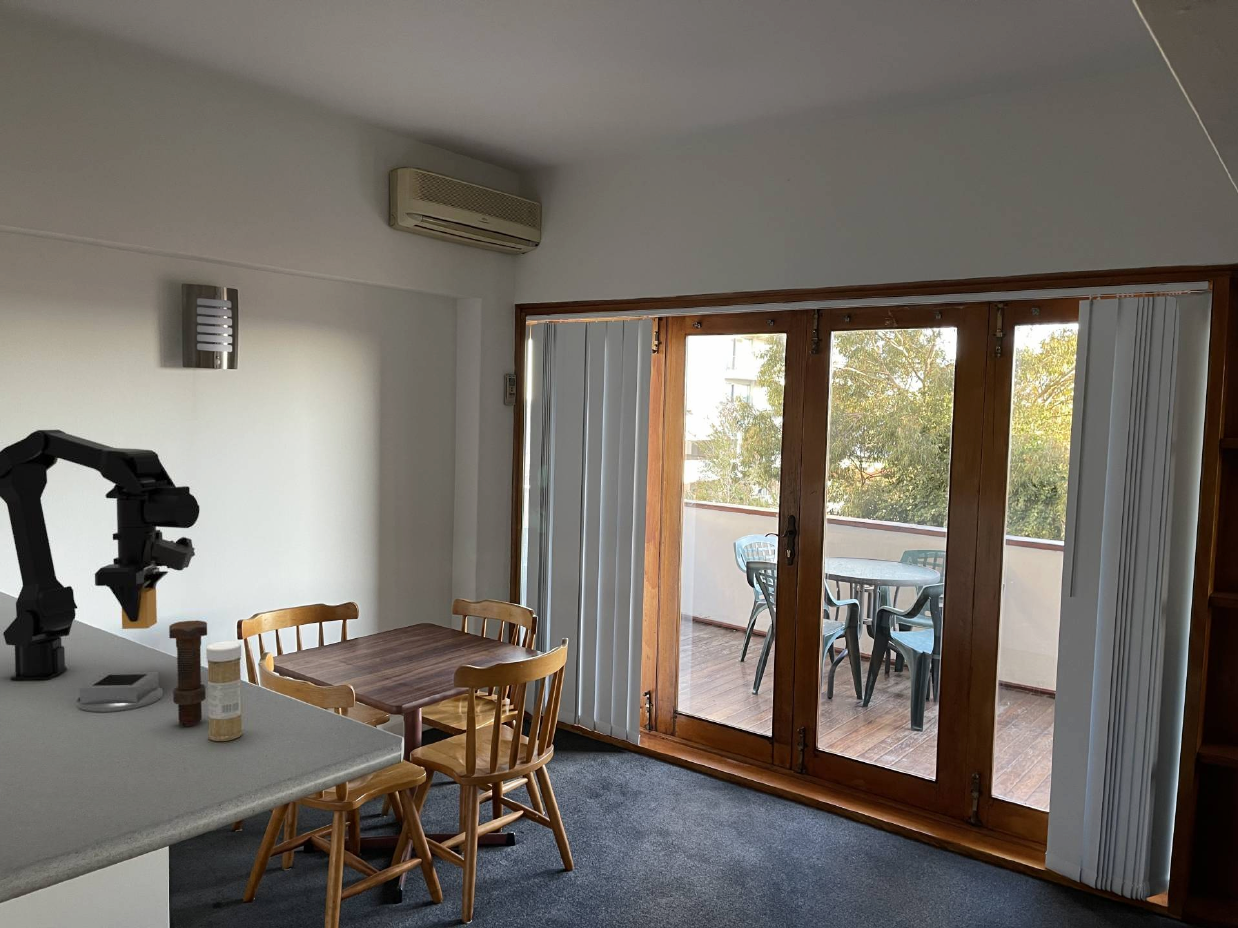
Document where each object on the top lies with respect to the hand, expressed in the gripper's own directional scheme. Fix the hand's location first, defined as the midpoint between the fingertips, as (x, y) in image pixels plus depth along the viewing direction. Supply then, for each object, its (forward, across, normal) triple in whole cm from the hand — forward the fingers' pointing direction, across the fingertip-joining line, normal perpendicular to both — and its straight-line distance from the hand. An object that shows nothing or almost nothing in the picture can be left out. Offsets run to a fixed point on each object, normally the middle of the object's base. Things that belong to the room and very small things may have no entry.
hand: (139, 618), depth 155 cm
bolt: (+12, -19, -14) cm, 27 cm away
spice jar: (+12, -26, -21) cm, 35 cm away
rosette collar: (+12, -7, 0) cm, 14 cm away
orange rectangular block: (+1, 0, 0) cm, 1 cm away
